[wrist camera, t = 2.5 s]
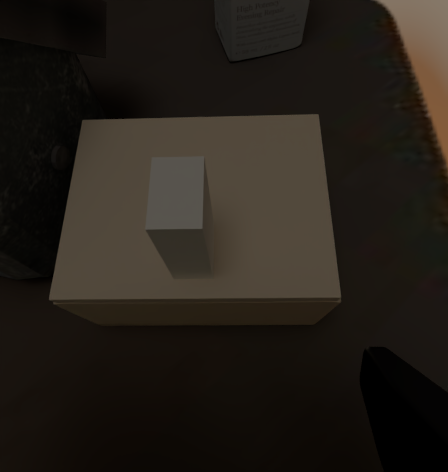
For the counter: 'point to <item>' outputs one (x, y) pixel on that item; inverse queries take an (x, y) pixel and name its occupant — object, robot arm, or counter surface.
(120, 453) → the counter surface
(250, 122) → the lid
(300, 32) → the skincare box
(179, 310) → the carton
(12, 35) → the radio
